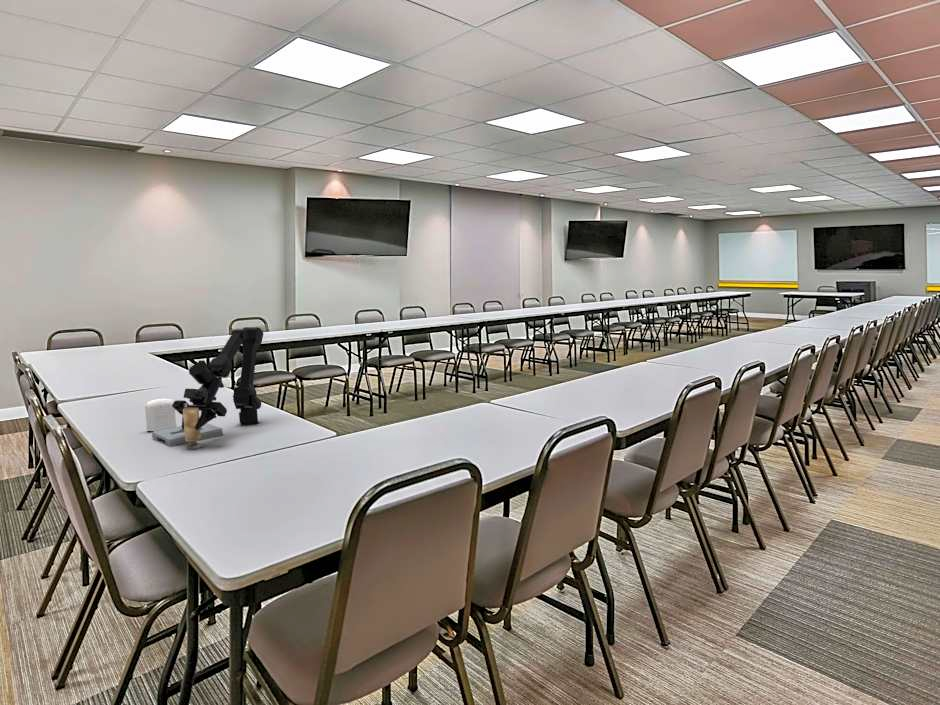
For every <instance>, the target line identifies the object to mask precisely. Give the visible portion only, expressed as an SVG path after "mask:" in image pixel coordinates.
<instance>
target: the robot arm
mask: <svg viewBox="0 0 940 705" xmlns="http://www.w3.org/2000/svg"><path fill="white" fill-rule="evenodd" d="M263 337H264V332H263V329H261V328H260V326H259V327H258V326H257V327H255V326H253V327H251V326H250V327H249V326H247V327H245V326H244V327H243V328H241V329H237V328H236V329H233V330H231V334H230V336H229V338H228V340H227V341H226V343H225V344H224V347H223V348H222V350H221V352H220V353H219V354H218V355H217V356H215V357H213V358H212V359H211V361H210V362H209V363H208V364H207V362H206V361H205V360H198V362H197V363H194V364H193V365H192V366H190V368H189V369H188V374H189V375H190V376H191V377H192V378H193V379H194V380H195V382H197V383H198V384H199V385H201V386H200V387H199V388H184V393H183V400H181V399H180V400H179V399H177V400H173V402H174V403H173V405H172V407H173V408H174V409H175V412H176V411H177V413H178V414H180V415H182V417H181V418H182V420H181V426H182V429H184V419H183V409H184V408H189V407H198V408H199V412H200V415H199V420H198V422H197V424H196V427H195V429H196V430H198V429H200V428H201V427H202V426H203V425H205V424H206V423H209V422H210V421H212V420H213V419H216V418H217V417H225V416H226V415H227V412H228V410H227V407H226V406H224V405H223V403H222V402H221V401H217V397H216V395H217V393H218V391H219V389H220V388H221V389H222V388H224V387H225V385H224V383H223V380H222V379H220V378H223V379H224V378H227V377H229V375H230V373H231V371H232V368H233V363H232V362H233V360H234V358H235V356H236V355H237V353H238V351H239V350H240V347H241V346H242V348H243V353H242V360H241V361H242V362H241V371H240V372H241V373H240V380H239V384H238V385H237V386H235V387H234V388H233V395H232V401H233V404H234V407H235V409H236V410H240V411H238V417H239V418H238V419H239V420H238V422H239V424H241V426H247V425H248V426H249V425H258V424H259V418H258V410H260V408H261V407H262V401H261V400H260V399H259V397H258V396H257V390H256V387H255V386H254V381H255V380H254V378H255V369H256V360H257V350H258V348H259V347H260V346H261V345H262V342H263ZM184 399H188V400H189V402H190V403H192V404H190V403H188V402H187V401H186V400H184Z"/></svg>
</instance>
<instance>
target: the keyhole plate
mask: <svg viewBox="0 0 940 705" xmlns="http://www.w3.org/2000/svg"><path fill="white" fill-rule="evenodd" d="M200 432H201V439H200V440H199V441H201V440H206V439H211V438H215V437H220V436H223V434H224V432H223V428H222V427H219V426H216V425H214V424H210V423H209V422H207V423H206V424H205V425H203V426H202V427H201V428H200ZM151 437H152V438H154V439H153V440H155V439H156V440H155V441H159V440H158V439H161V440H163V441H165V445H166V444H167V445H166V446H168V445H169V446H168V447H170V446H171V447H174V446H173V445H175V446H178V445H177V444H180V445H183V444H182V443H184V444H189V443H190V441H185V431H184V429H182V425H180V426H176V427H174V428H169V429H164V430H159V431H153V432H151ZM188 442H189V443H188Z"/></svg>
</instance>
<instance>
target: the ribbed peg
mask: <svg viewBox="0 0 940 705" xmlns="http://www.w3.org/2000/svg"><path fill="white" fill-rule="evenodd" d="M199 418H200V411H199V408H198V407H189V408H184V409H183V419H184V431H185V441H190V442H189V443H186V445H185V450H187V449H194V450H198V448H199V449H201V448H202V443H201V442H198V441H201V440H200V439H201V432H200V429H198V430H196V429H195V427H196V424H197V422H198V420H199ZM197 440H198V441H197Z"/></svg>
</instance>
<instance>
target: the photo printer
mask: <svg viewBox="0 0 940 705" xmlns="http://www.w3.org/2000/svg"><path fill="white" fill-rule="evenodd" d="M173 403H174V400H173V399H171V398H157V399H152V400H149V401H147V402H146V403H145V406H144V407H145V408H144V410H145V423H146V431H153V432H154V431H159V430H164V429H169V428H174V427H177V419H176V418H177V417H176V410H175V409H174V408H173V407H172V405H173Z"/></svg>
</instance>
